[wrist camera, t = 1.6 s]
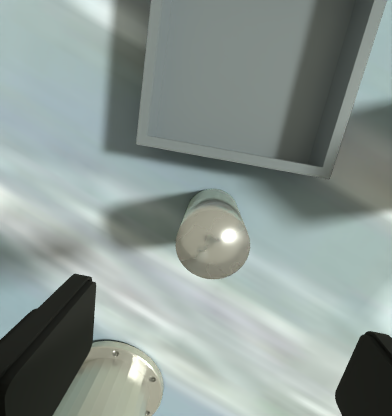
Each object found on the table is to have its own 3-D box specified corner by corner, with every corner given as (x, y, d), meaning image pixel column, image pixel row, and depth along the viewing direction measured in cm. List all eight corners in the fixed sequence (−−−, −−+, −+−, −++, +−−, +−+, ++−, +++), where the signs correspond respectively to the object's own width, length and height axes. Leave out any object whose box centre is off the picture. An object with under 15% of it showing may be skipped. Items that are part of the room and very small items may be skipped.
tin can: (232, 242, 26) (240, 285, 18) (183, 232, 26) (170, 271, 18) (243, 193, 24) (257, 217, 16) (191, 184, 24) (181, 203, 17)
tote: (310, 173, 23) (329, 179, 19) (148, 144, 23) (135, 144, 20) (368, -25, 19) (408, -67, 15) (172, -58, 19) (162, -108, 16)
